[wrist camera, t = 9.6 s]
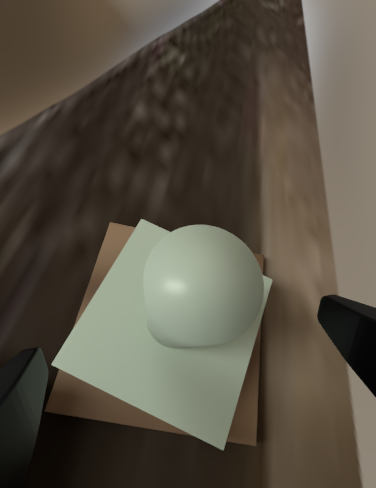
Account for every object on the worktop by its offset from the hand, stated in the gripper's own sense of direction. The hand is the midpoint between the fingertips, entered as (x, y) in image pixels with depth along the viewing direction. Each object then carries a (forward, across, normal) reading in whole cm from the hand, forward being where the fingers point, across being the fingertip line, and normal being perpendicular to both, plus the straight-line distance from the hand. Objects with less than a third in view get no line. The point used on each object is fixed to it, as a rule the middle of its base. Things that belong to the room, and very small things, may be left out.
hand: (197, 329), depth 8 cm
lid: (+6, 0, +4) cm, 7 cm away
